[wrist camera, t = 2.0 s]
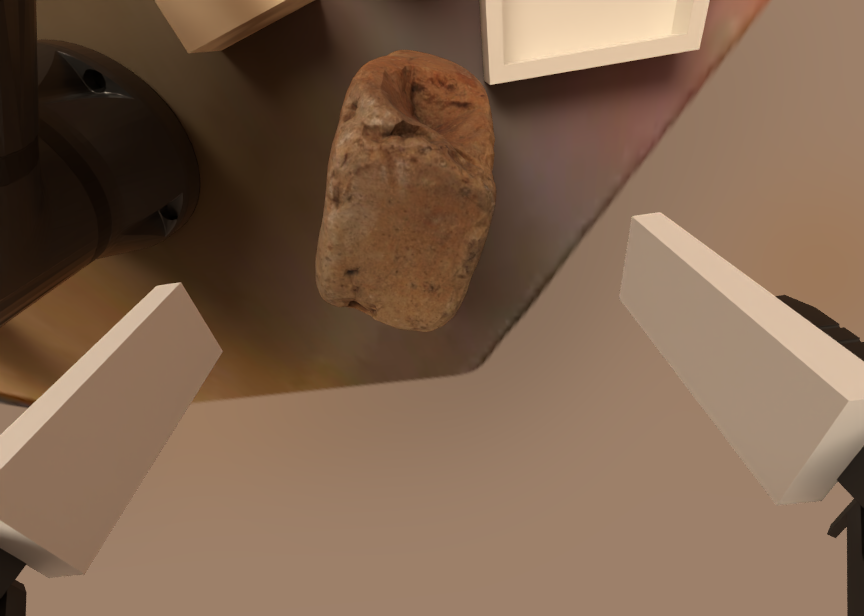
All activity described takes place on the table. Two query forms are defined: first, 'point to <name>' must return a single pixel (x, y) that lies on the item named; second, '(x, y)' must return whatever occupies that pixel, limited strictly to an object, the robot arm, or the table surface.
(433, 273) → the brown rough rounded part
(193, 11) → the oak brick
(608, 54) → the tray
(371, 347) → the table surface
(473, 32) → the table surface
